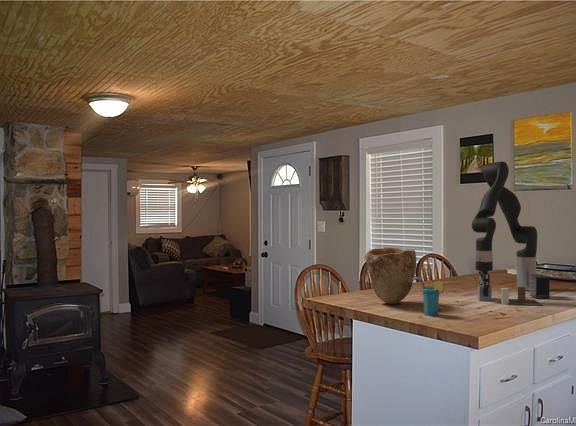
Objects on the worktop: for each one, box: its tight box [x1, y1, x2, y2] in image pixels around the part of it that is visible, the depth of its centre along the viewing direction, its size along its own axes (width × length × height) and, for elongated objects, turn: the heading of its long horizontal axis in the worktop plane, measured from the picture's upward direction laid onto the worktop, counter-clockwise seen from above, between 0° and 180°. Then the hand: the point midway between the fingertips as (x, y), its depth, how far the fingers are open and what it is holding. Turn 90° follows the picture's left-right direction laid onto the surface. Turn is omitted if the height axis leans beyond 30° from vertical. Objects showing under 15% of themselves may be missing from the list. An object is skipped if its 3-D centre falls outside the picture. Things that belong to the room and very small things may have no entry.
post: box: [500, 287, 510, 306], centre depth 227 cm, size 3×3×7 cm
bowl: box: [364, 246, 417, 305], centre depth 230 cm, size 22×22×25 cm
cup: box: [412, 276, 445, 317], centre depth 206 cm, size 14×8×15 cm, turn 53°
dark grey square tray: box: [508, 287, 544, 307], centre depth 229 cm, size 14×14×7 cm
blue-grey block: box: [477, 284, 493, 302], centre depth 237 cm, size 5×5×7 cm
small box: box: [529, 274, 550, 300], centre depth 242 cm, size 11×6×10 cm, turn 168°
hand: (484, 294), depth 237 cm, fingers open, 8 cm apart
